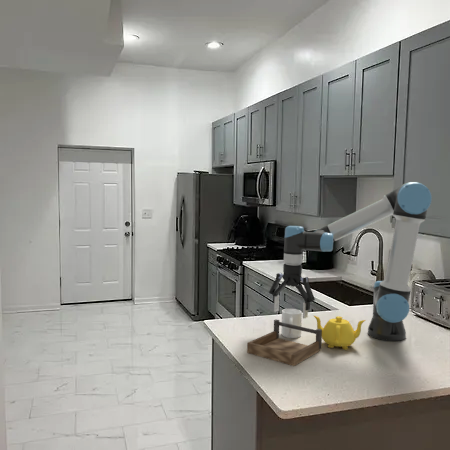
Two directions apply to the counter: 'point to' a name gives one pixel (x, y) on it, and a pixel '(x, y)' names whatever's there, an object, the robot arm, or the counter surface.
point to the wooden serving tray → (284, 346)
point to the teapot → (339, 332)
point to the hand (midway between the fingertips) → (290, 314)
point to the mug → (291, 322)
